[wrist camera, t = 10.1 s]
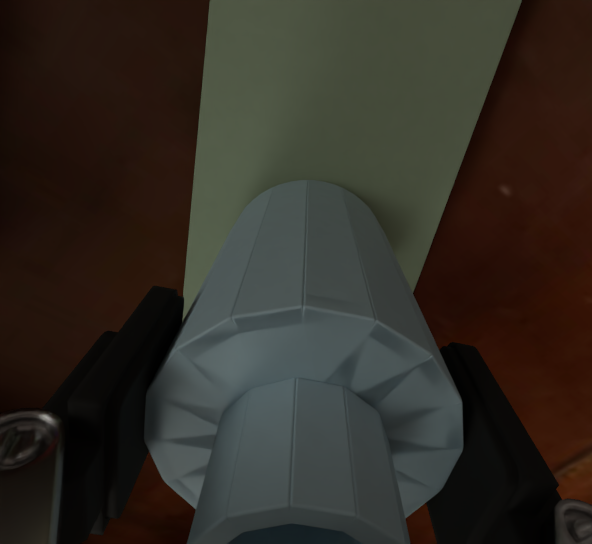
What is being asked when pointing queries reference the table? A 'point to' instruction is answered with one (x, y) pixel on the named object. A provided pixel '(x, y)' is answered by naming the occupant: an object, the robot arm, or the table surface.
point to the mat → (340, 110)
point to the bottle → (304, 383)
